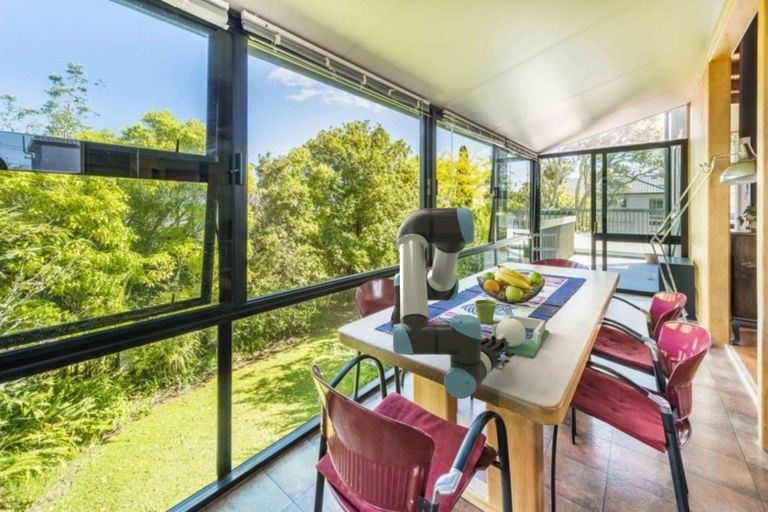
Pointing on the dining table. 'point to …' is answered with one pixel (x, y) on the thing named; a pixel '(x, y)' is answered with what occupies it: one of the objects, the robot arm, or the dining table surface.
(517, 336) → the ball
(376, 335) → the dining table surface
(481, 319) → the plant pot
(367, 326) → the dining table surface
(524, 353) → the green tray
